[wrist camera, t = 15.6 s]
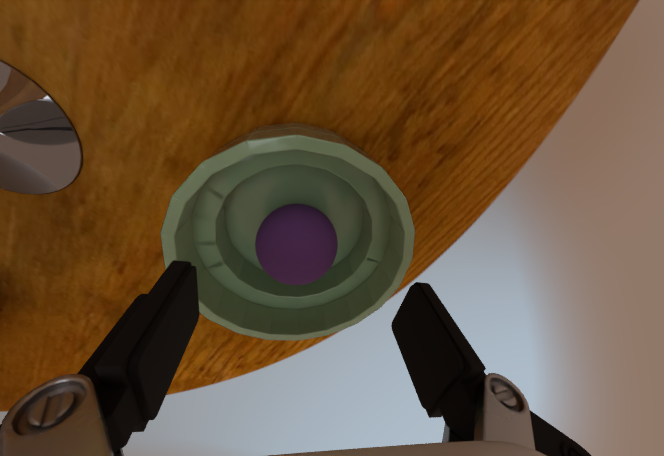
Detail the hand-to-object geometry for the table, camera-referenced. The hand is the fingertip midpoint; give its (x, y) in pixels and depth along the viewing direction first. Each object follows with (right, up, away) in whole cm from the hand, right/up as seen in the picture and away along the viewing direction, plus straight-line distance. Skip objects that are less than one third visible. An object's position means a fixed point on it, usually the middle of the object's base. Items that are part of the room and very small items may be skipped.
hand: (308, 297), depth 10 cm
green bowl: (-1, +4, +7) cm, 8 cm away
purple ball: (-1, +3, +6) cm, 7 cm away
